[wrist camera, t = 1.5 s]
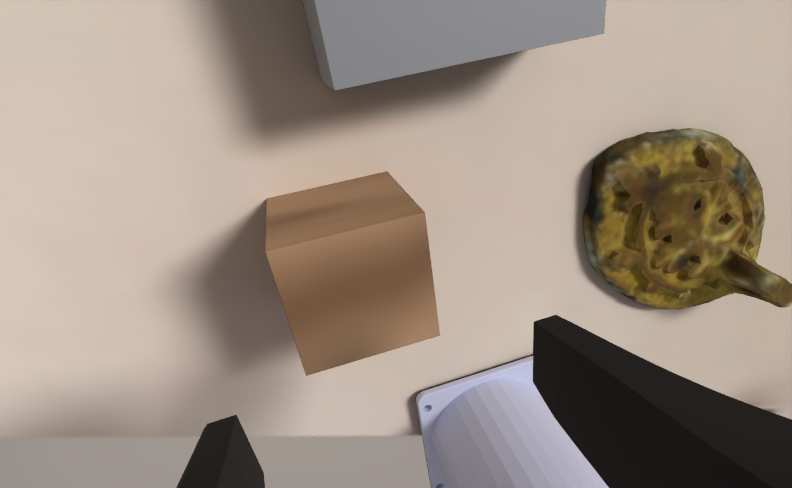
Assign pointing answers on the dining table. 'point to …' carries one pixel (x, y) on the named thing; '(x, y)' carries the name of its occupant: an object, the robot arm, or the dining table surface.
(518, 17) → the grey block
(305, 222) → the walnut cube
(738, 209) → the seal
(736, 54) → the dining table surface
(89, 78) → the dining table surface
